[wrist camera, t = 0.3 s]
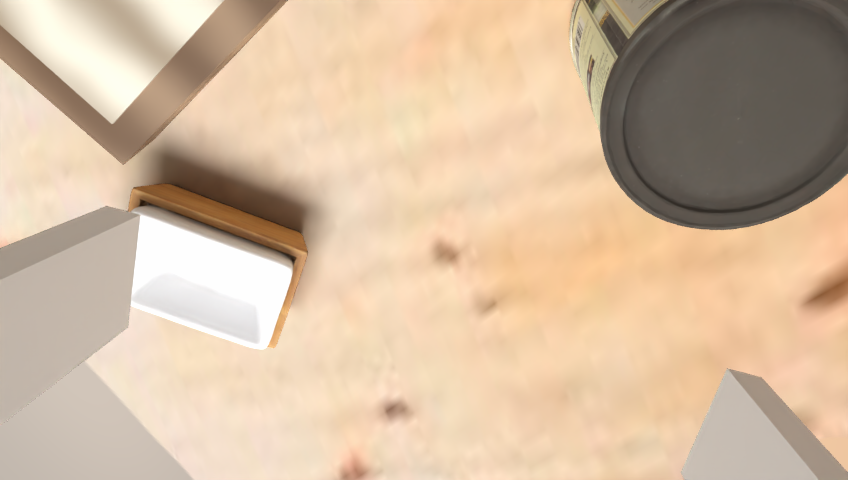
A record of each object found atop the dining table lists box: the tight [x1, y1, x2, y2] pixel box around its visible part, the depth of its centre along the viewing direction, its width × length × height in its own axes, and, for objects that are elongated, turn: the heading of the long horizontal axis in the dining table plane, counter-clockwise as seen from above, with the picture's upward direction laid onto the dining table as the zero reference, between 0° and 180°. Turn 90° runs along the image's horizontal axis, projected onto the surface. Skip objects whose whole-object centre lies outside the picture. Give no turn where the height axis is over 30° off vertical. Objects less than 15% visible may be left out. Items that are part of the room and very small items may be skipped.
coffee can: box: [569, 0, 848, 230], centre depth 29 cm, size 10×10×14 cm
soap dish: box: [128, 184, 308, 349], centre depth 45 cm, size 12×10×5 cm
